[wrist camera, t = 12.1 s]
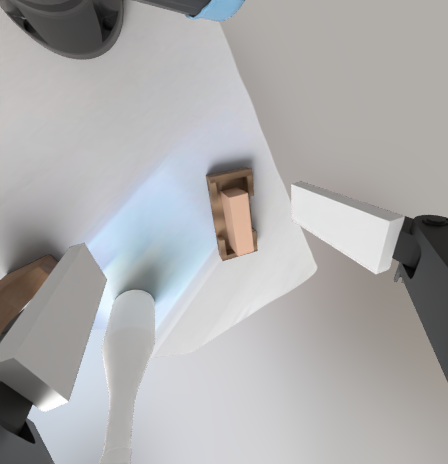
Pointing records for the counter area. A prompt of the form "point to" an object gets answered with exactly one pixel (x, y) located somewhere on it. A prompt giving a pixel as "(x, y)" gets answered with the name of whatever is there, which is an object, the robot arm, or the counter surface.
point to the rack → (215, 185)
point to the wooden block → (22, 287)
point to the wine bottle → (126, 367)
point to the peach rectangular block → (238, 220)
